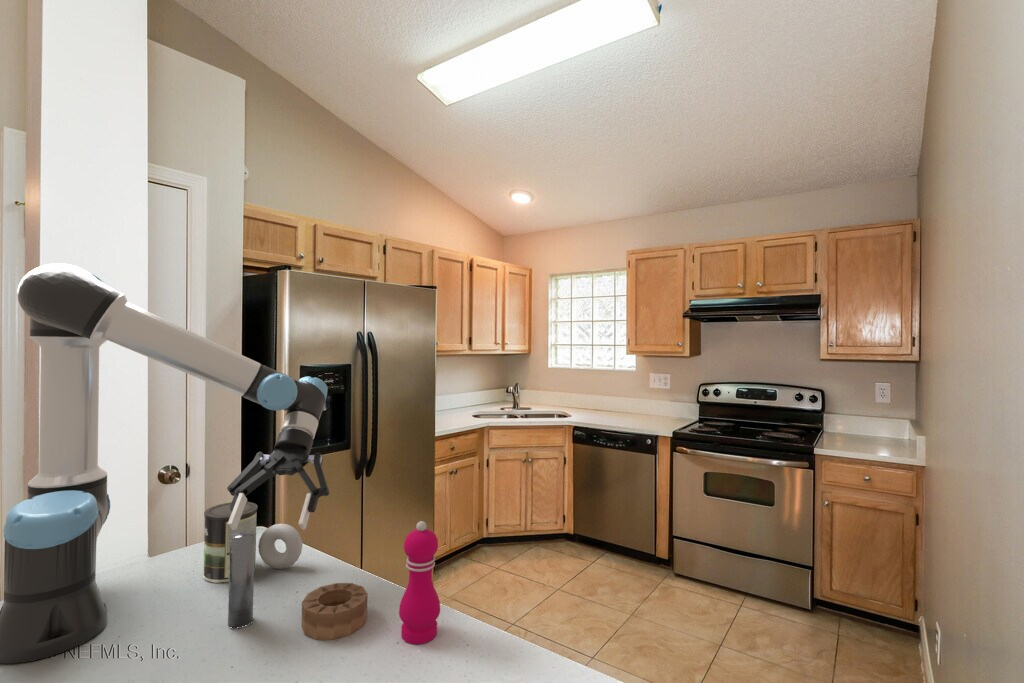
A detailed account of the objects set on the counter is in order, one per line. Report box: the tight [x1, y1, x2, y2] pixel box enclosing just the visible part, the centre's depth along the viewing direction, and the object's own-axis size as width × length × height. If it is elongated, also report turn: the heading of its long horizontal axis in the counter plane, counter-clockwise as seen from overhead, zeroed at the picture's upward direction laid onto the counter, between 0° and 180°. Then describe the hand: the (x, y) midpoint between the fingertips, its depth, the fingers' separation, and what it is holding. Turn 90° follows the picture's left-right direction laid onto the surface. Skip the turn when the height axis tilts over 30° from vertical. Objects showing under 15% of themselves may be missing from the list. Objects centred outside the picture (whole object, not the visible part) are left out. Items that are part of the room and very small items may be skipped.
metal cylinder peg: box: [227, 531, 255, 629], centre depth 91 cm, size 4×4×16 cm
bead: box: [301, 582, 369, 641], centre depth 92 cm, size 11×11×4 cm
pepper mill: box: [398, 520, 441, 645], centre depth 89 cm, size 7×7×20 cm
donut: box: [258, 523, 303, 570], centre depth 113 cm, size 10×3×10 cm, turn 84°
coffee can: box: [202, 501, 259, 584], centre depth 111 cm, size 10×10×14 cm
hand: (266, 527), depth 99 cm, fingers open, 13 cm apart
